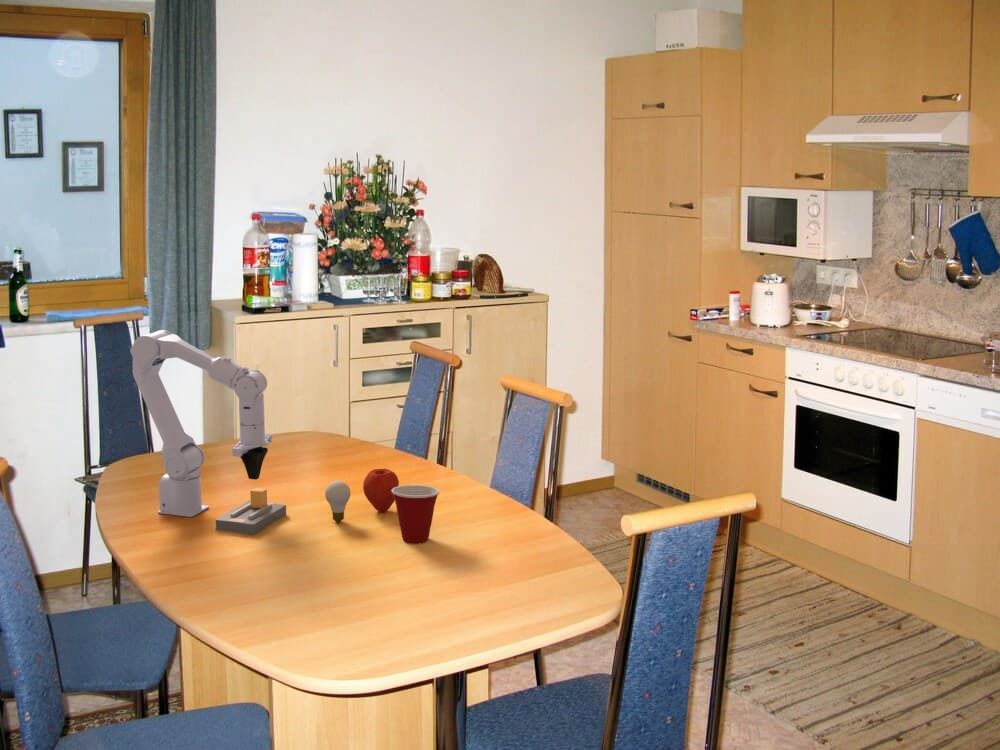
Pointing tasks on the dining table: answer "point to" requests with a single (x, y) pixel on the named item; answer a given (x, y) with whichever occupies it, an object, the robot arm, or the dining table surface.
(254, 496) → the handle
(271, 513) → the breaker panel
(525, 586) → the dining table surface
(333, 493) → the light bulb
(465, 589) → the dining table surface
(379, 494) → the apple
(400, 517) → the plastic cup
